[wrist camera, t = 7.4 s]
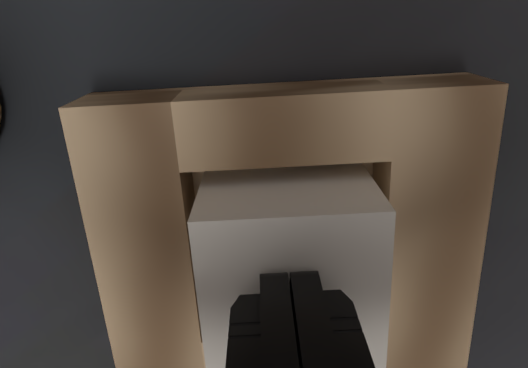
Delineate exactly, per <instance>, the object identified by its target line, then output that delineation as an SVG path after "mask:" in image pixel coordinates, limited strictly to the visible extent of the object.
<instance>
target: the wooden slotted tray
mask: <svg viewBox="0 0 528 368" xmlns="http://www.w3.org/2000/svg"><path fill="white" fill-rule="evenodd" d="M508 86H509V84H507V83H504V82H500V81H497V80H493V79H489V78H486V77H482V76H479V75H475V74H471V73H468V72H462V73H444V74H425V75H407V76H388V77H370V78H351V79H333V80H314V81H296V82H277V83H259V84H240V85H222V86H203V87H185V88H166V89H148V90H129V91H111V92H92V93H89V94H87V95H85V96H83V97H81V98H79V99H77V100H75V101H72V102H70V103H68V104H66V105H64V106H62V107H60V108H58V109H59V114H60V118H61V123H62V127H63V132H64V136H65V141H66V145H67V150H68V154H69V159H70V163H71V168H72V172H73V177H74V181H75V186H76V190H77V195H78V199H79V204H80V208H81V213H82V217H83V222H84V227H85V231H86V236H87V240H88V245H89V249H90V254H91V258H92V263H93V267H94V272H95V276H96V281H97V285H98V290H99V294H100V299H101V303H102V308H103V312H104V317H105V321H106V326H107V330H108V335H109V339H110V344H111V348H112V353H113V357H114V362H115V367H116V368H206V366H205V358H204V350H203V342H202V334H201V326H200V319H199V311H198V303H197V295H196V287H195V279H194V271H193V263H192V256H191V248H190V240H189V232H188V224H187V222H188V219H189V216H190V213H191V210H192V207H193V204H194V201H195V198H196V195H197V192H198V189H199V186H200V183H201V180H202V178H203V175H204V172H205V171H221V170H240V169H259V168H278V167H296V166H315V165H334V164H353V163H362V164H363V165H364V167H365V168H366V169H367V171H368V172H369V174H370V175H371V177H372V178H373V179H374V181H375V182H376V184H377V185H378V187H379V188H380V189H381V191H382V192H383V194H384V195H385V197H386V198H387V199H388V201H389V202H390V204H391V205H392V207H393V208H394V209H395V211H396V219H395V235H394V251H393V267H392V283H391V299H390V315H389V331H388V347H387V363H386V368H467V364H468V357H469V350H470V343H471V337H472V330H473V323H474V316H475V309H476V303H477V296H478V289H479V282H480V276H481V269H482V262H483V255H484V248H485V242H486V235H487V228H488V221H489V215H490V208H491V201H492V194H493V187H494V181H495V174H496V167H497V160H498V153H499V147H500V140H501V133H502V126H503V120H504V113H505V106H506V99H507V92H508Z"/></svg>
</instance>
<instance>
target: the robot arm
mask: <svg viewBox="0 0 528 368" xmlns="http://www.w3.org/2000/svg"><path fill="white" fill-rule="evenodd" d="M225 368H375V365H374V362H373V359H372V356H371V353H370V350H369V347H368V345H367V342H366V339H365V336H364V333H363V332H362V327H361V324H360V321H359V319H358V315H357V312H356V309H355V306H354V303H353V301H352V300H351V299H350V298H349V297H348V296H347V295H346V294H345V293H344V292H343V291H342V290H340V289H338V290H323V288H322V284H321V280H320V276H319V272H318V271H301V272H290V287H289V279H288V273H287V272H284V273H265V274H260V294H244V295H239V297H238V298H237V299H236V301H235V302H234V304H233V305H232V307H231V308H230V319H229V331H228V342H227V354H226V366H225Z"/></svg>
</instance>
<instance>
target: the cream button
mask: <svg viewBox="0 0 528 368" xmlns="http://www.w3.org/2000/svg"><path fill="white" fill-rule="evenodd" d="M395 219H396V211H395V209H394V208H393V207H392V205H391V204H390V202H389V201H388V199H387V198H386V197H385V195H384V194H383V192H382V191H381V189H380V188H379V187H378V185H377V184H376V182H375V181H374V179H373V178H372V177H371V175H370V174H369V172H368V171H367V169H366V168H365V167H364V165H363V164H362V163H353V164H334V165H315V166H296V167H278V168H259V169H240V170H221V171H205V172H204V175H203V178H202V180H201V183H200V186H199V189H198V192H197V195H196V198H195V201H194V204H193V207H192V210H191V213H190V216H189V219H188V222H187V224H188V232H189V240H190V248H191V256H192V263H193V271H194V279H195V287H196V295H197V303H198V311H199V319H200V326H201V334H202V342H203V350H204V358H205V366H206V368H225V366H226V354H227V342H228V331H229V319H230V308H231V307H232V305H233V304H234V302H235V301H236V299H237V298H238V297H239V295H244V294H260V274H265V273H284V272H287V273H288V279H289V287H290V272H301V271H318V272H319V276H320V280H321V284H322V288H323V290H338V289H340V290H342V291H343V292H344V293H345V294H346V295H347V296H348V297H349V298H350V299H351V300H352V301H353V303H354V306H355V309H356V312H357V315H358V319H359V321H360V324H361V327H362V332H363V333H364V336H365V339H366V342H367V345H368V347H369V350H370V353H371V356H372V359H373V362H374V365H375V368H386V363H387V347H388V331H389V315H390V299H391V283H392V267H393V251H394V235H395Z"/></svg>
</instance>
